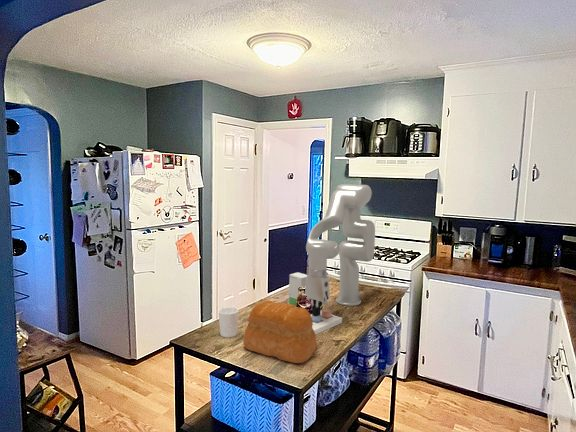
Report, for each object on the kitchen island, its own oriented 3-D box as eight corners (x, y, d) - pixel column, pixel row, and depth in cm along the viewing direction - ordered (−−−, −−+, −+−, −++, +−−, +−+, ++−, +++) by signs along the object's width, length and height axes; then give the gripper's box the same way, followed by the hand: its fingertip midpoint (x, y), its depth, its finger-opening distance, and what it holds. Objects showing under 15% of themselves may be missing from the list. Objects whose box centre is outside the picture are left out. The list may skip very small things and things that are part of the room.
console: (320, 318, 175) (320, 310, 175) (342, 325, 167) (342, 318, 166) (289, 330, 161) (289, 322, 161) (311, 340, 153) (311, 331, 152)
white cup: (230, 328, 163) (230, 305, 162) (242, 334, 157) (242, 310, 156) (215, 334, 157) (214, 310, 156) (226, 340, 152) (226, 315, 151)
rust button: (325, 317, 171) (325, 308, 171) (332, 320, 168) (332, 311, 168) (319, 320, 168) (319, 311, 168) (326, 322, 166) (327, 313, 165)
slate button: (315, 321, 167) (316, 312, 166) (323, 324, 164) (323, 315, 163) (309, 324, 164) (309, 315, 163) (316, 326, 161) (317, 317, 160)
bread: (301, 368, 131) (302, 319, 129) (239, 349, 144) (238, 305, 142) (320, 349, 145) (321, 305, 143) (262, 334, 158) (262, 293, 156)
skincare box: (288, 305, 192) (288, 274, 190) (296, 301, 197) (297, 271, 195) (300, 309, 186) (301, 277, 184) (309, 305, 191) (310, 275, 189)
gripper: (337, 274, 158) (336, 317, 161) (309, 267, 169) (308, 308, 171) (325, 278, 153) (324, 322, 155) (298, 270, 164) (297, 312, 166)
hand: (316, 315), depth 163 cm, fingers closed
